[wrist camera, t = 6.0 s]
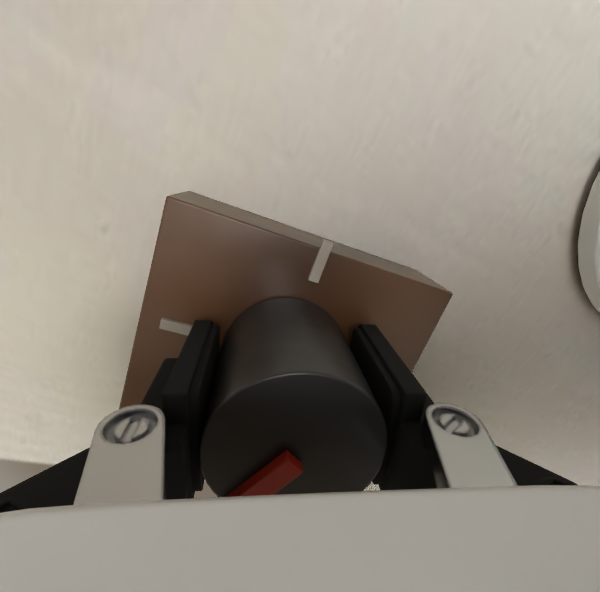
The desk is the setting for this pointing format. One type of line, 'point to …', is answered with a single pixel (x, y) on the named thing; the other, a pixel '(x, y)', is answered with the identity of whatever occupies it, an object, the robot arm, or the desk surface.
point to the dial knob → (289, 407)
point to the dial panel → (267, 284)
